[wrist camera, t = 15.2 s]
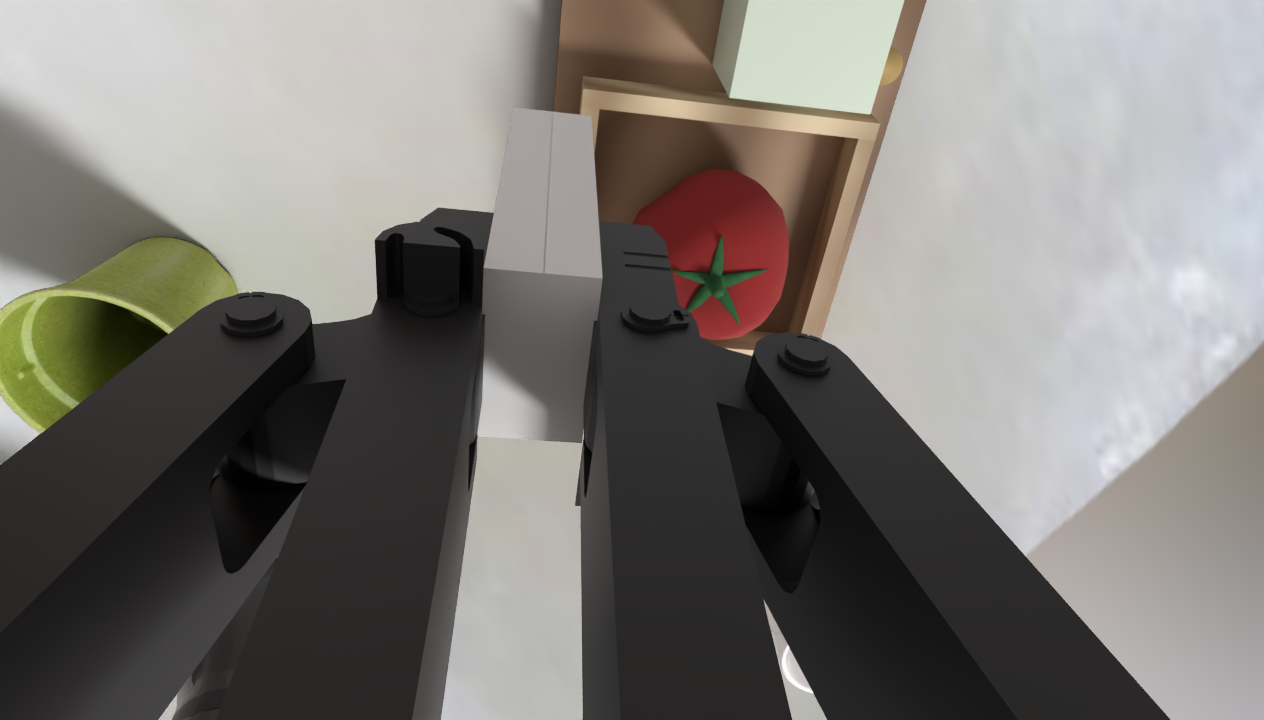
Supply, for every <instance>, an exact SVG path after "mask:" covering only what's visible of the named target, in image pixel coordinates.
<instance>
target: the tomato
mask: <svg viewBox="0 0 1264 720" xmlns="http://www.w3.org/2000/svg"><path fill="white" fill-rule="evenodd" d="M632 224H637V225H648V226H651V227H652V228H653V229H654V230H655V231H656V232H657V233H658V234H659V235H660V236H661V237H662V238H663V239H664V240H665V242H666V246H667V251H668V255H669V256H668V259H669V260H670V265H671V271H672V274H673V278H674V283H675V288H676V292H677V297H678V301H679V305H680V306H682V307H683V308H684V309H686V310H687V311H688V312H690V313H691V314H692V316H693V317H694V319H695V321H696V322H697V324H698V329H699V333H700V337H702V338H706V339H709V340H719V339H729V338H735V337H741V336H743V335H745V334H747V333H748V332H750V331H751V330H753V329H755V328H756V327H758V326H760V325H761V324H762V323H763V322H764V321H765V320H766V318H767V317H768V316H769V314H770V313H771V311H772V310H773V308H774V307H775V306H776V304H777V303H778V301H779V300H780V298H781V295H782V291H783V287H784V283H785V279H786V274H787V267H788V257H789V234H788V229H787V225H786V221H785V218H784V214H783V210H782V208H781V207H780V206H779V205H778V204H777V202H776V201H775V200H774V199H773V197H772V196H771V195H770V194H769V193H768V191H767V190H766V189H765V188H764V187H763V186H762V185H760V184H759V183H758V182H757V181H755V180H753V179H751V178H750V177H748V176H746V175H744V174H742V173H740V172H738V171H735V170H724V169H713V168H712V169H709V170H706V171H703V172H699V173H696V174H693V175H690V176H688V177H686V178H685V179H683V180H682V181H680V182H679V183H678V184H676V185H675V186H673V187H672V188H671V189H669V190H668V191H666V192H665V193H663V194H662V195H661V196H659V197H658V198H656V199H655V200H654V201H652V202H651V203H649V204H648V205H646V206H645V207H644V208H642V209H641V210H640V211H639V212H638V214H637V216H636V217H635V219H634V221H633V223H632Z"/></svg>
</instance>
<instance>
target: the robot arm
mask: <svg viewBox="0 0 1264 720" xmlns="http://www.w3.org/2000/svg"><path fill="white" fill-rule="evenodd" d="M375 254H376V276H377V301H376V304H375V306H374V309H373V311H372V314H370V315H367V316H364V317H360V318H357V319H353V320H347V321H341V322H332V323H322V324H312V319H311V314H310V310H309V309H308V308H307V307H306V306H305V305H304V304H303V303H301V302H300V301H299V300H296V299H293V298H290V297H288V296H285V295H281V294H271V293H265V292H252V293H249V292H247V293H240V294H236V295H234V296H230V297H226V298H223V299H219V300H216V301H214V302H213V303H211V304H209V305H207V306H205V307H203V308H202V309H200V310H199V311H197V312H196V313H195V314H194V315H192V316H191V317H190V318H188V319H187V320H186V321H185V322H183V323H182V324H181V325H179V326H178V327H177V328H176V329H174V330H173V331H172V332H170V333H169V334H168V335H167V336H165V337H164V338H163V339H162V340H160V341H159V342H158V343H156V344H155V345H154V346H153V347H151V348H150V349H149V350H147V351H146V352H145V353H144V354H142V355H141V356H140V357H138V358H137V359H136V360H135V361H133V362H132V363H131V364H129V365H128V366H127V367H126V368H124V369H123V370H122V371H121V372H119V373H118V374H117V375H115V376H114V377H113V378H112V379H110V380H109V381H108V382H106V383H105V384H104V385H103V386H101V387H100V388H99V389H97V390H96V391H95V392H94V393H92V394H91V395H90V396H88V397H87V398H86V399H85V400H83V401H82V402H81V403H79V404H78V405H77V406H76V407H74V408H73V409H72V410H71V411H69V412H68V413H67V414H65V415H64V416H63V417H62V418H60V419H59V420H58V421H56V422H55V423H54V424H53V425H51V426H50V427H49V428H47V429H46V430H45V431H44V432H42V433H41V434H40V435H38V436H37V437H36V438H35V439H33V440H32V441H31V442H30V443H28V444H27V445H26V446H24V447H23V448H22V449H21V450H19V451H18V452H17V453H15V454H14V455H13V456H12V457H10V458H9V459H8V460H6V461H5V462H4V463H3V464H1V465H0V720H158V719H159V718H160V716H161V715H162V714H163V712H164V711H165V710H166V708H167V707H168V705H169V704H170V703H171V701H172V700H173V699H174V697H175V696H176V695H177V693H178V695H177V708H176V711H175V714H174V716H173V719H172V720H441V713H442V706H443V699H444V691H445V684H446V677H447V670H448V662H449V655H450V648H451V641H452V634H453V626H454V619H455V612H456V605H457V597H458V590H459V583H460V576H461V568H462V561H463V554H464V547H465V540H466V532H467V525H468V518H469V511H470V503H471V496H472V489H473V482H474V475H475V467H476V460H477V432H478V436H479V437H495V438H512V439H528V440H544V441H560V442H576V443H582V436H583V428H584V440H583V448H582V456H581V463H580V471H579V479H578V487H577V494H576V502H575V506H581V585H582V677H583V720H792V717H791V713H790V709H789V705H788V700H787V696H786V692H785V688H784V684H783V680H782V675H781V671H780V667H779V663H778V659H777V655H776V650H775V646H774V642H773V638H772V634H771V629H770V625H769V621H768V617H767V613H766V609H765V604H764V601H765V602H766V604H767V606H768V608H769V610H770V612H771V614H772V616H773V618H774V620H775V621H776V623H777V625H778V627H779V629H780V631H781V633H782V635H783V637H784V638H785V640H786V642H787V644H788V646H789V648H790V650H791V652H792V654H793V655H794V657H795V659H796V661H797V663H798V665H799V667H800V669H801V671H802V672H803V674H804V676H805V678H806V680H807V682H808V684H809V686H810V688H811V689H812V691H813V693H814V695H815V697H816V699H817V701H818V703H819V705H820V706H821V708H822V710H823V712H824V714H825V716H826V718H827V720H1170V719H1169V718H1168V716H1167V715H1166V714H1165V713H1164V712H1163V711H1162V710H1161V709H1160V708H1159V706H1158V705H1157V704H1156V703H1155V702H1154V701H1153V700H1152V699H1151V697H1150V696H1149V695H1148V694H1147V693H1146V692H1145V691H1144V689H1143V688H1142V687H1141V686H1140V685H1139V684H1138V683H1137V682H1136V680H1135V679H1134V678H1133V677H1132V676H1131V675H1130V674H1129V673H1128V671H1127V670H1126V669H1125V668H1124V667H1123V666H1122V665H1121V664H1120V662H1119V661H1118V660H1117V659H1116V658H1115V657H1114V656H1113V655H1112V653H1111V652H1110V651H1109V650H1108V649H1107V648H1106V647H1105V646H1104V645H1103V643H1102V642H1101V641H1100V640H1099V639H1098V638H1097V637H1096V635H1095V634H1094V633H1093V632H1092V631H1091V630H1090V629H1089V627H1088V626H1087V625H1086V624H1085V623H1084V622H1083V621H1082V620H1081V619H1080V617H1079V616H1078V615H1077V614H1076V613H1075V612H1074V611H1073V609H1072V608H1071V607H1070V606H1069V605H1068V604H1067V603H1066V602H1065V600H1064V599H1063V598H1062V597H1061V596H1060V595H1059V594H1058V593H1057V592H1056V590H1055V589H1054V588H1053V587H1052V586H1051V585H1050V584H1049V582H1048V581H1047V580H1046V579H1045V578H1044V577H1043V576H1042V575H1041V573H1040V572H1039V571H1038V570H1037V569H1036V568H1035V567H1034V566H1033V564H1032V563H1031V562H1030V561H1029V560H1028V559H1027V558H1026V556H1025V555H1024V554H1023V553H1022V552H1021V551H1020V550H1019V549H1018V547H1017V546H1016V545H1015V544H1014V543H1013V542H1012V541H1011V540H1010V538H1009V537H1008V536H1007V535H1006V534H1005V533H1004V532H1003V531H1002V529H1001V528H1000V527H999V526H998V525H997V524H996V523H995V522H994V520H993V519H992V518H991V517H990V516H989V515H988V514H987V513H986V511H985V510H984V509H983V508H982V507H981V506H980V505H979V504H978V502H977V501H976V500H975V499H974V498H973V497H972V496H971V495H970V493H969V492H968V491H967V490H966V489H965V488H964V487H963V486H962V484H961V483H960V482H959V481H958V480H957V479H956V478H955V477H954V475H953V474H952V473H951V472H950V471H949V470H948V469H947V468H946V466H945V465H944V464H943V463H942V462H941V461H940V460H939V458H938V457H937V456H936V455H935V454H934V453H933V452H932V451H931V449H930V448H929V447H928V446H927V445H926V444H925V443H924V442H923V440H922V439H921V438H920V437H919V436H918V435H917V434H916V433H915V431H914V430H913V429H912V428H911V427H910V426H909V425H908V424H907V422H906V421H905V420H904V419H903V418H902V417H901V416H900V415H899V413H898V412H897V411H896V410H895V409H894V408H893V407H892V406H891V404H890V403H889V402H888V401H887V400H886V399H885V398H884V397H883V395H882V394H881V393H880V392H879V391H878V390H877V389H876V388H875V386H874V385H873V384H872V383H871V382H870V381H869V380H868V379H867V377H866V376H865V375H864V374H863V373H862V372H861V371H860V370H859V368H858V367H857V366H856V365H855V364H854V363H853V362H852V361H851V359H850V358H849V357H848V356H847V355H845V354H844V353H843V352H842V351H841V350H839V349H838V348H837V347H836V346H834V345H832V344H829V343H827V342H825V341H823V340H821V339H820V338H818V337H815V336H812V335H810V336H808V335H807V334H803V333H785V332H781V333H776V334H770V335H766V336H765V337H763V338H762V339H760V340H759V341H757V342H756V345H755V348H754V352H753V355H752V356H751V355H747V354H743V353H739V352H736V351H732V350H728V349H725V348H722V347H719V346H716V345H714V344H712V343H710V342H708V341H706V340H704V339H702V338H701V337H700V333H699V329H698V324H697V322H696V321H695V319H694V317H693V316H692V314H691V313H690V312H688V311H687V310H686V309H684V308H683V307H682V306H680V305H679V301H678V297H677V292H676V288H675V283H674V278H673V274H672V271H671V265H670V260H669V259H668V256H669V255H668V251H667V246H666V242H665V240H664V239H663V238H662V237H661V236H660V235H659V234H658V233H657V232H656V231H655V230H654V229H653V228H652V227H651V226H648V225H637V224H627V223H617V222H606V221H599V218H598V203H597V189H596V174H595V159H594V145H593V130H592V116H587V115H578V114H569V113H560V112H551V111H543V110H534V109H525V108H516V107H514V108H513V113H512V119H511V124H510V129H509V135H508V140H507V146H506V151H505V156H504V162H503V167H502V172H501V178H500V183H499V189H498V194H497V199H496V205H495V210H494V213H489V212H478V211H468V210H457V209H447V208H437V209H436V210H434V211H433V212H431V213H430V214H428V215H427V216H426V217H424V218H423V219H421V221H420V222H413V223H407V224H401V225H397V226H394V227H392V228H390V229H387V230H385V231H383V232H382V233H381V234H380V235H379V236H378V237H377V238H376V239H375ZM278 555H279V556H278ZM277 556H278V558H277ZM763 599H764V600H763Z"/></svg>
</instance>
